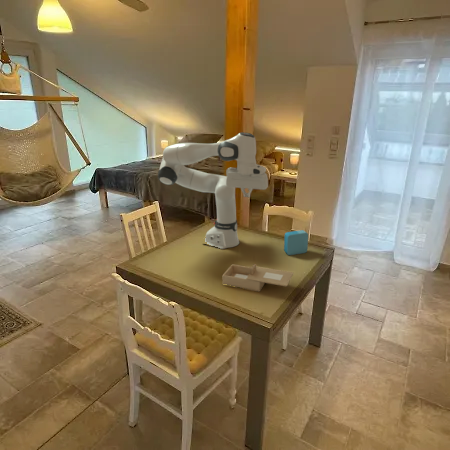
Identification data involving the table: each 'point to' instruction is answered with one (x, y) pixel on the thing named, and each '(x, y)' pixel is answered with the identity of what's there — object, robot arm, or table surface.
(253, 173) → the robot arm
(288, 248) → the data package
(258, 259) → the table surface
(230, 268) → the box
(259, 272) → the lid
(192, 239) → the table surface
